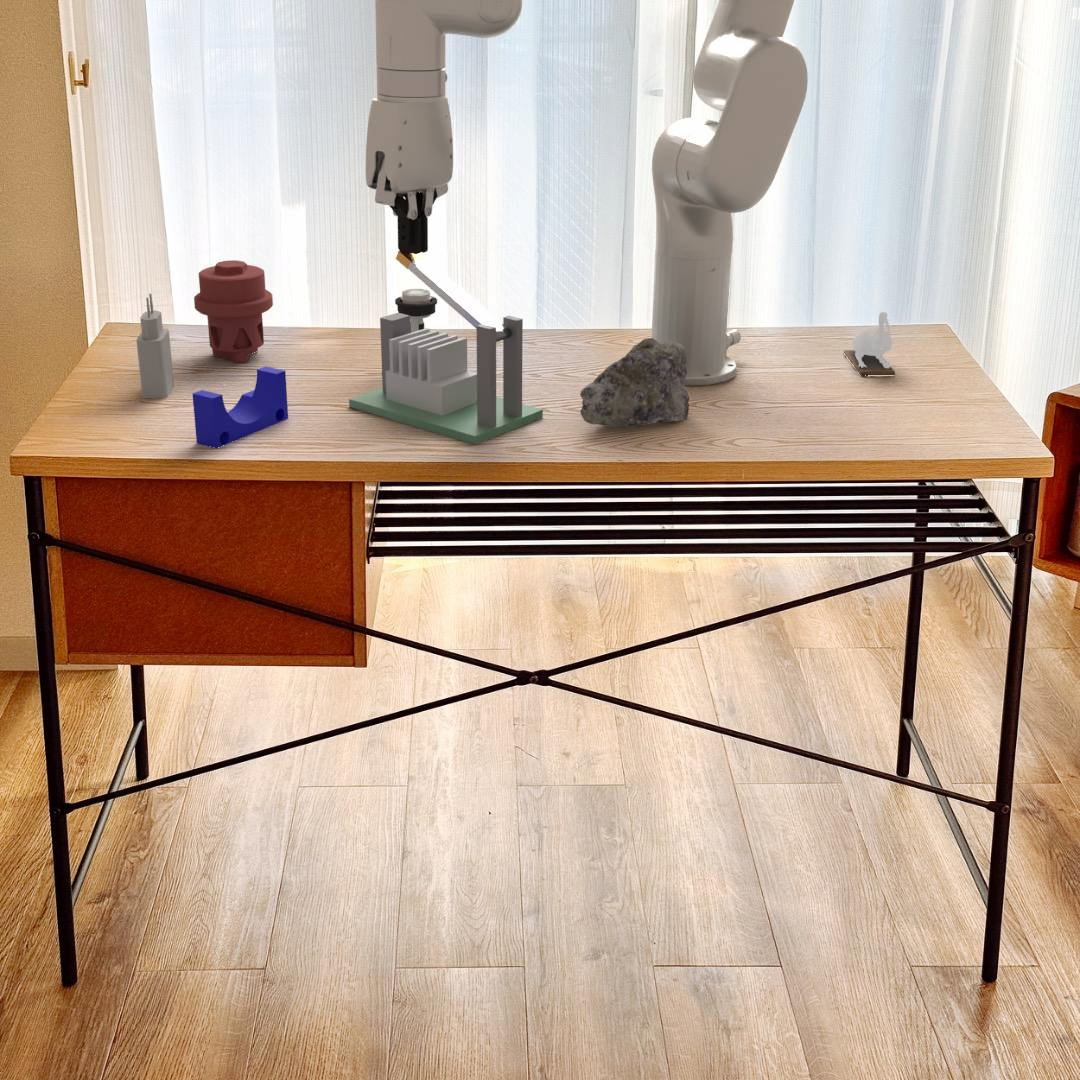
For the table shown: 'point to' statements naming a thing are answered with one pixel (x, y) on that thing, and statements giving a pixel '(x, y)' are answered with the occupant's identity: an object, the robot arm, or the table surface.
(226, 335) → the mechanical component
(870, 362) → the figurine
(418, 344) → the board
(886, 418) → the table surface
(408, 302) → the push button
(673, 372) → the mineral rock
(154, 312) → the power adapter
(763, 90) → the robot arm
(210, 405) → the blue cradle bracket
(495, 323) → the hinged grey bar
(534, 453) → the table surface
